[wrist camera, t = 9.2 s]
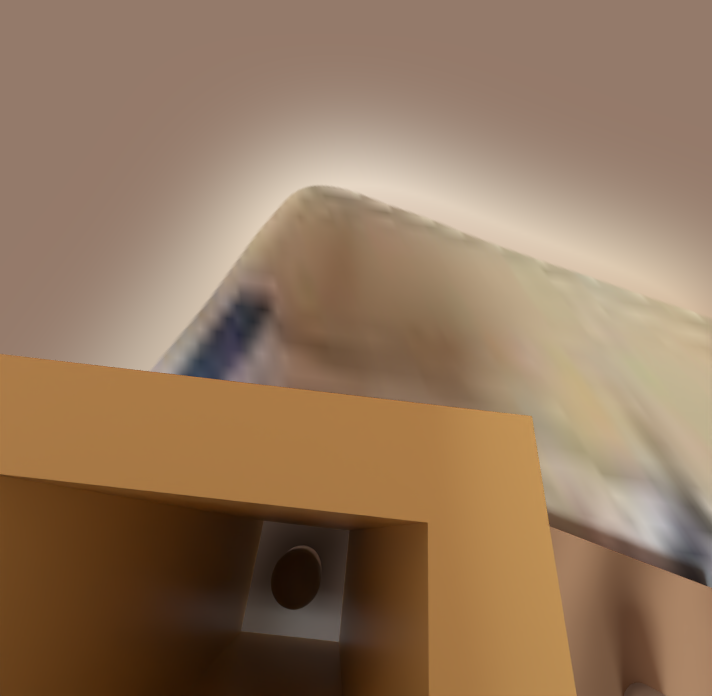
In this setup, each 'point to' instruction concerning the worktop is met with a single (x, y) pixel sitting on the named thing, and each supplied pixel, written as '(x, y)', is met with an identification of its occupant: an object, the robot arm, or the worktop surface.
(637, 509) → the worktop surface
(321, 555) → the board
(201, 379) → the sleeve
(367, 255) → the worktop surface
